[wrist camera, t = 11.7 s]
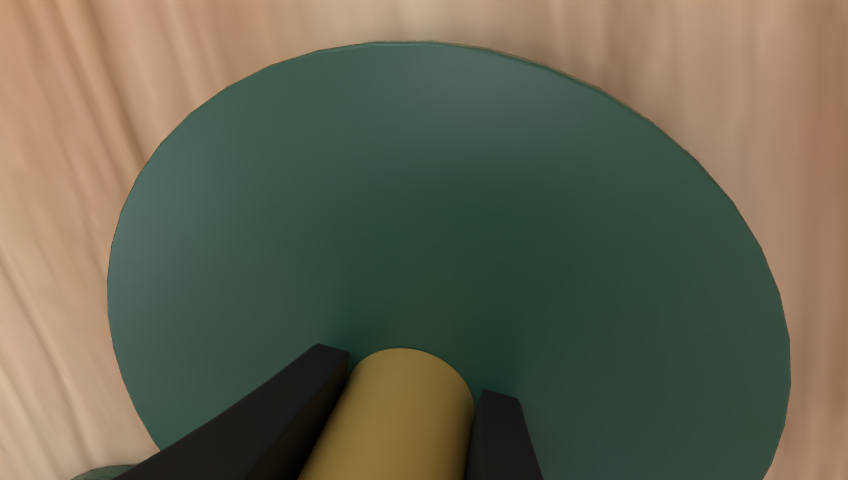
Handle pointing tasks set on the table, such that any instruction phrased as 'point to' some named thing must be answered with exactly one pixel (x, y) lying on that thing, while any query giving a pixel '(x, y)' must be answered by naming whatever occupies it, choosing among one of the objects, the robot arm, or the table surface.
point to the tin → (103, 473)
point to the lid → (450, 270)
